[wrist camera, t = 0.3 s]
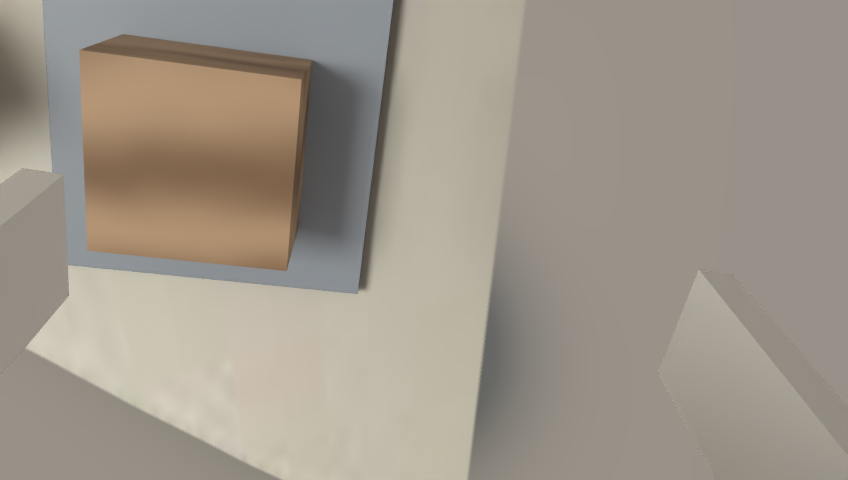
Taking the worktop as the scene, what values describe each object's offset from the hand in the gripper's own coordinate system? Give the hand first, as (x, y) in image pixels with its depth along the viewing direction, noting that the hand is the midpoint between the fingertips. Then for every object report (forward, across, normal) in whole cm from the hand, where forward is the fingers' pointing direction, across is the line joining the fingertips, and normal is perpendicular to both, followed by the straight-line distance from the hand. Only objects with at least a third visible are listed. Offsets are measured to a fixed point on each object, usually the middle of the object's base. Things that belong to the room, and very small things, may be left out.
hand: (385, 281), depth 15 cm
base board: (+27, -9, -7) cm, 29 cm away
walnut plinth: (+27, -9, -7) cm, 29 cm away
